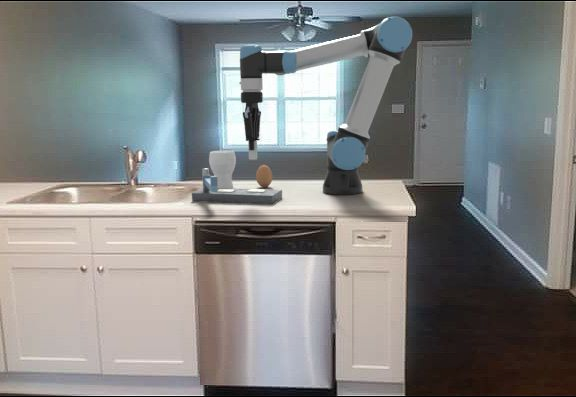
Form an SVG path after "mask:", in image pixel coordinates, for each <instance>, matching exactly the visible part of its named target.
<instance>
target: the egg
mask: <svg viewBox="0 0 576 397" xmlns="http://www.w3.org/2000/svg"><path fill="white" fill-rule="evenodd" d="M255 179H256V182H257V185H259V186H260V187H262V188H267V187H269V186H270V185H271V183H272V181H273V172H272V171H271V168H270V167H269V166H268V165H266V164H262V165H259V167H258V168H257V170H256V175H255Z"/></svg>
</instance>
